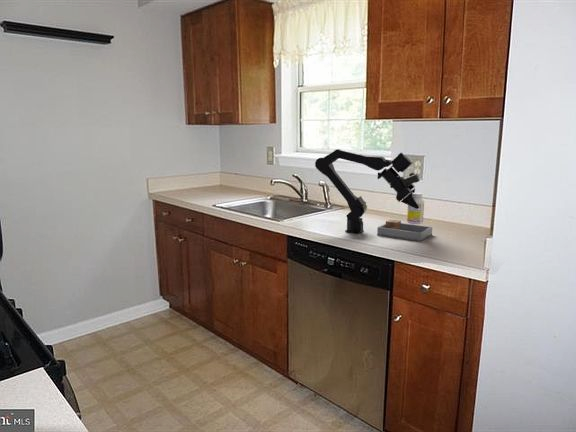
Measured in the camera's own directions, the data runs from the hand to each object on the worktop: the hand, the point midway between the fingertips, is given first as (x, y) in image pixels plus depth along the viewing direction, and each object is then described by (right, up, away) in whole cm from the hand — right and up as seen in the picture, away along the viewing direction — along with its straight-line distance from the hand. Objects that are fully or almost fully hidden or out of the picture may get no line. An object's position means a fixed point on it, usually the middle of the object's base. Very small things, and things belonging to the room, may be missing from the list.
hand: (419, 206), depth 185 cm
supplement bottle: (-1, -7, +2) cm, 8 cm away
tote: (-5, -12, +6) cm, 14 cm away
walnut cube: (-9, -11, +9) cm, 17 cm away
